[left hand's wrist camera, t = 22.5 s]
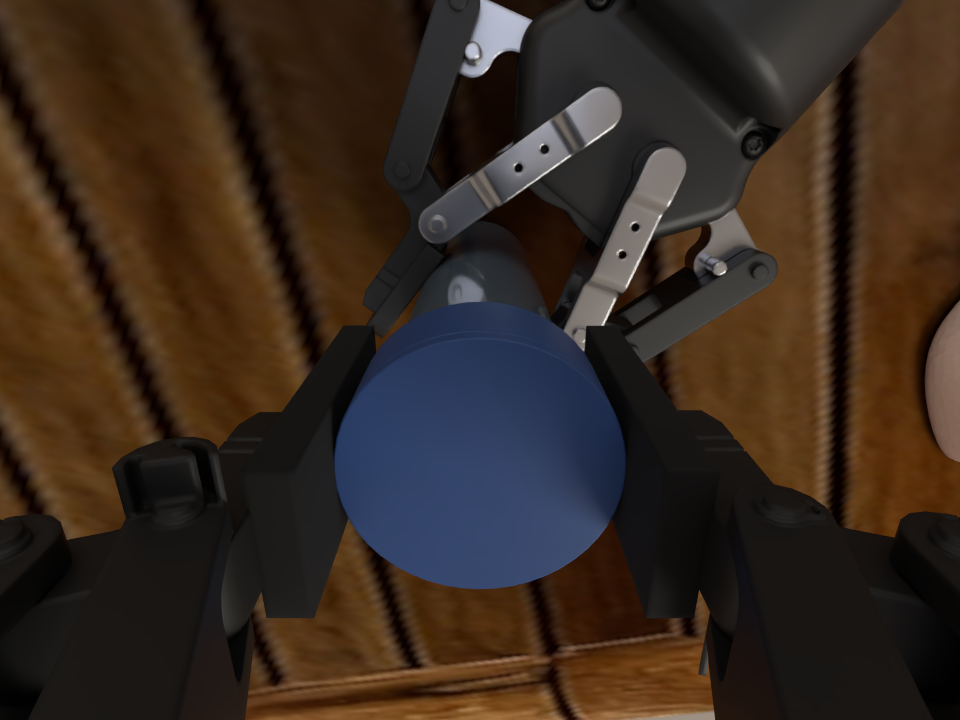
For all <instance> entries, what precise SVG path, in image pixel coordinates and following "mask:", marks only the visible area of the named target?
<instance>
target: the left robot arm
mask: <svg viewBox="0 0 960 720" xmlns="http://www.w3.org/2000/svg"><path fill="white" fill-rule="evenodd" d="M584 353H585V355H586V357H587V358H588V360H589V362H590V363H591V365H592V367H593V369H594V371H595V373H596V375H597V377H598V379H599V381H600V383H601V385H602V387H603V389H604V391H605V393H606V396H607V398H608V400H609V402H610V404H611V406H612V408H613V410H614V412H615V414H616V417H617V419H618V422H619V424H620V426H621V429H622V433H623V437H624V441H625V446H626V472H625V481H624V488H623V492H622V496H621V498H620V501H619V504H618V506H617V509H616V511H615V513H614V515H613V516H612V520H613V523H614V526H615V529H616V531H617V534H618V537H619V540H620V543H621V546H622V549H623V552H624V555H625V558H626V561H627V564H628V566H629V569H630V572H631V575H632V578H633V581H634V584H635V587H636V590H637V593H638V596H639V598H640V601H641V604H642V607H643V610H644V613H645V616H646V618H694V614H695V609H696V603H697V598H698V592H699V590H700V592H701V594H702V596H703V598H704V600H705V602H706V604H707V606H708V608H709V611H710V616H709V621H708V626H707V631H706V636H705V641H704V646H703V651H702V656H701V661H700V667H699V673H698V674H700V675H704V676H706V674H707V669H708V664H709V671H710V679H711V688H712V696H713V705H714V713H715V720H960V518H958V517H957V516H955V515H950V514H942V513H934V512H917V513H909V514H908V515H906V516H905V517H904V518H902V519H901V520H900V523H899V526H898V529H897V532H896V535H895V538H893V537H888V536H883V535H878V534H873V533H867V532H862V531H857V530H852V529H847V528H843V527H840V526H838V525H837V523H836V521H835V519H834V517H833V516H832V515H831V513H830V512H829V511H828V510H827V508H826V507H825V506H824V505H822V504H821V503H819V502H818V501H816V500H815V499H813V498H812V497H810V496H808V495H806V494H803V493H801V492H799V491H796V490H794V489H791V488H787V487H783V486H778V485H774V484H773V483H772V482H771V481H770V479H769V478H768V477H767V476H766V475H765V473H764V472H763V471H762V470H761V469H760V468H759V466H758V465H757V464H756V463H755V462H754V460H753V459H752V458H751V457H750V456H749V454H748V453H747V452H746V451H744V450H743V447H742V446H741V445H740V444H739V443H738V441H737V440H734V437H733V435H732V434H731V433H730V432H729V431H728V429H727V428H726V427H725V426H724V425H723V423H722V422H720V421H718V420H717V419H715V418H713V417H712V416H710V415H708V414H706V413H705V412H703V411H701V410H677V409H676V408H675V407H674V405H673V404H672V402H671V401H670V400H669V398H668V397H667V395H666V394H665V393H664V391H663V390H662V388H661V387H660V386H659V384H658V383H657V381H656V380H655V379H654V377H653V376H652V374H651V373H650V372H649V370H648V369H647V367H646V366H645V365H644V363H643V362H642V360H641V359H640V358H639V356H638V355H637V354H636V352H635V351H634V349H633V348H632V347H631V345H630V344H629V342H628V341H627V340H626V338H625V337H624V335H623V334H622V333H621V331H620V330H619V328H618V327H617V326H586V336H585V349H584ZM375 354H376V344H375V331H374V326H343V327H342V329H341V330H340V332H339V333H338V334H337V336H336V337H335V339H334V340H333V341H332V343H331V344H330V346H329V347H328V348H327V350H326V351H325V353H324V354H323V355H322V357H321V358H320V360H319V361H318V362H317V364H316V365H315V367H314V368H313V369H312V371H311V372H310V374H309V375H308V376H307V378H306V379H305V381H304V382H303V383H302V385H301V386H300V388H299V389H298V390H297V392H296V393H295V395H294V396H293V397H292V399H291V400H290V402H289V403H288V404H287V406H286V407H285V409H284V410H283V411H282V412H259V413H257V414H256V415H254V416H252V417H251V418H249V419H247V420H246V421H244V422H242V423H241V424H239V425H238V426H237V427H236V429H235V430H234V431H233V432H232V433H231V435H230V436H229V437H228V438H227V441H225V442H224V443H223V444H222V445H221V447H220V448H219V449H218V450H217V446H216V445H215V444H214V443H212V442H211V441H209V440H207V439H202V438H197V437H180V438H172V439H167V440H162V441H157V442H154V443H151V444H149V445H146V446H143V447H140V448H138V449H136V450H134V451H132V452H131V453H129V454H127V455H125V456H124V457H122V458H121V459H120V460H119V461H118V462H117V463H116V464H115V465H114V466H113V467H112V470H113V474H114V477H115V481H116V484H117V488H118V491H119V495H120V498H121V502H122V505H123V509H124V512H125V516H126V520H125V522H124V524H123V526H122V528H121V529H119V530H115V531H111V532H106V533H101V534H96V535H90V536H85V537H80V538H75V539H70V540H66V537H65V534H64V531H63V528H62V525H61V522H60V521H58V520H57V519H56V518H54V517H53V516H48V515H40V514H32V515H24V516H14V517H9V518H5V519H4V520H2V519H1V520H0V720H245V715H246V706H247V698H248V689H249V681H250V672H251V663H252V655H253V646H254V632H253V626H252V621H251V616H250V614H251V612H252V610H253V608H254V606H255V604H256V602H257V600H258V598H259V595H260V593H261V591H262V596H263V601H264V607H265V612H266V617H267V618H314V617H315V614H316V611H317V608H318V605H319V602H320V599H321V597H322V594H323V591H324V588H325V585H326V582H327V579H328V576H329V573H330V570H331V567H332V565H333V562H334V559H335V556H336V553H337V550H338V547H339V544H340V541H341V538H342V535H343V532H344V530H345V527H346V524H347V521H348V516H347V514H346V512H345V510H344V508H343V506H342V504H341V501H340V498H339V495H338V491H337V486H336V478H335V469H334V449H335V442H336V437H337V434H338V431H339V427H340V424H341V421H342V419H343V417H344V415H345V413H346V411H347V409H348V407H349V405H350V403H351V401H352V399H353V396H354V394H355V392H356V390H357V388H358V386H359V384H360V382H361V380H362V378H363V376H364V374H365V372H366V370H367V368H368V366H369V364H370V362H371V360H372V358H373V357H374V355H375Z"/></svg>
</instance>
